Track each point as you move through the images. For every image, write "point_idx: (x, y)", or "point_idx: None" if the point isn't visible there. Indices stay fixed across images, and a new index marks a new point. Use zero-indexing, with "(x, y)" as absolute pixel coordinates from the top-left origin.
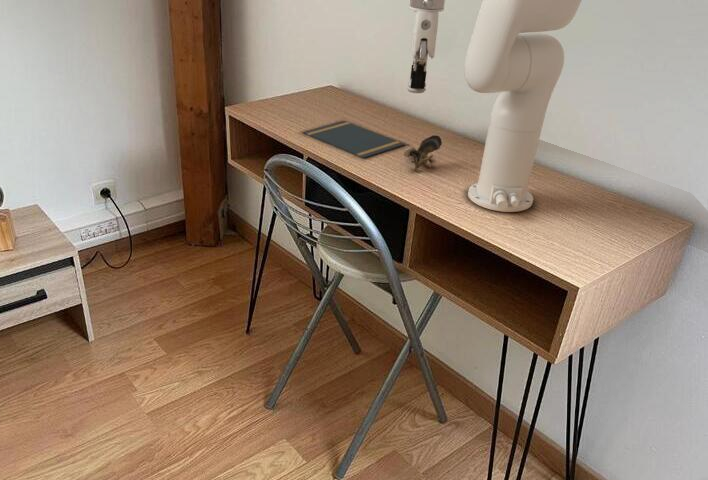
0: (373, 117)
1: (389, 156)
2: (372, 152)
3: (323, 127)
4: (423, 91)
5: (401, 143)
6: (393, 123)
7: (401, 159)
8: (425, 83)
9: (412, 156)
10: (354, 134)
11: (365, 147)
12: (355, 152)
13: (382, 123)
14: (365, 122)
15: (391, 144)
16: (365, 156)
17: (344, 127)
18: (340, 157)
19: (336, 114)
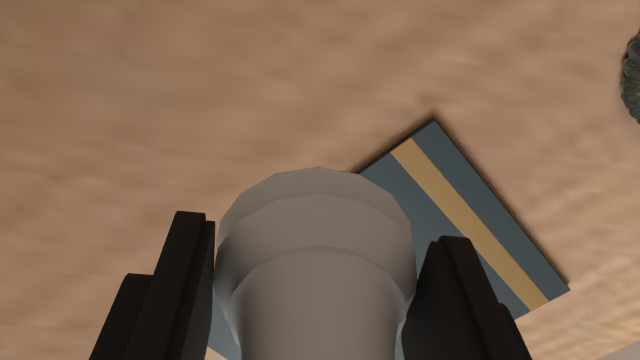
0: (16, 217)
1: (567, 199)
2: (525, 261)
3: None
4: (387, 195)
5: (427, 135)
6: (84, 131)
7: (615, 155)
8: (330, 219)
9: (635, 114)
10: None
11: None
12: (514, 313)
13: (103, 185)
14: (112, 255)
15: (439, 182)
16: (563, 285)
17: (221, 334)
18: (538, 348)
19: (36, 348)
